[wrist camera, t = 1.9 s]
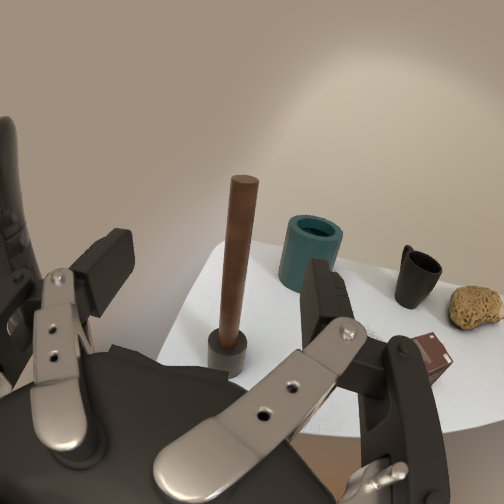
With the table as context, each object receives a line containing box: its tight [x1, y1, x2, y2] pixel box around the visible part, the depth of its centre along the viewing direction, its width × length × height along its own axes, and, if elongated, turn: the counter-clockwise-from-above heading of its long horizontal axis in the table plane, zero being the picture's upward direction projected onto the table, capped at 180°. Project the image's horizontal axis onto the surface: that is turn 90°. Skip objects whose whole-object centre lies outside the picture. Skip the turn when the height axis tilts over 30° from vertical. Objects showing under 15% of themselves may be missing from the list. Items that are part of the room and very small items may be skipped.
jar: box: [278, 215, 343, 293], centre depth 49 cm, size 10×10×11 cm
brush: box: [208, 175, 259, 378], centre depth 27 cm, size 5×5×24 cm
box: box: [411, 332, 453, 386], centre depth 30 cm, size 6×6×7 cm
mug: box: [395, 245, 442, 309], centre depth 49 cm, size 8×12×10 cm
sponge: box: [449, 286, 504, 329], centre depth 44 cm, size 13×8×20 cm
